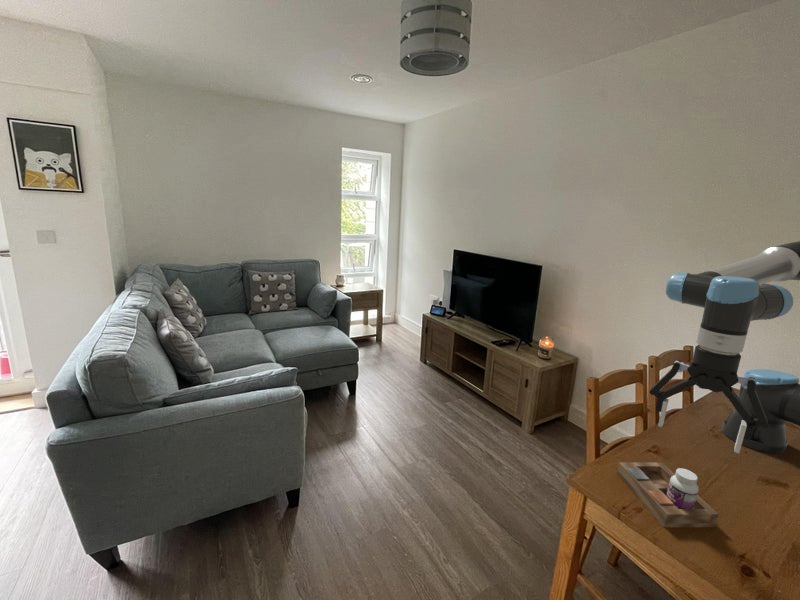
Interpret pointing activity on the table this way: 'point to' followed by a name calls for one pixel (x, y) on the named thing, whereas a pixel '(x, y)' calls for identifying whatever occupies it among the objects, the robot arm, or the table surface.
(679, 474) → the pill bottle
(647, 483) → the socket block
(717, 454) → the table surface
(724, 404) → the table surface
